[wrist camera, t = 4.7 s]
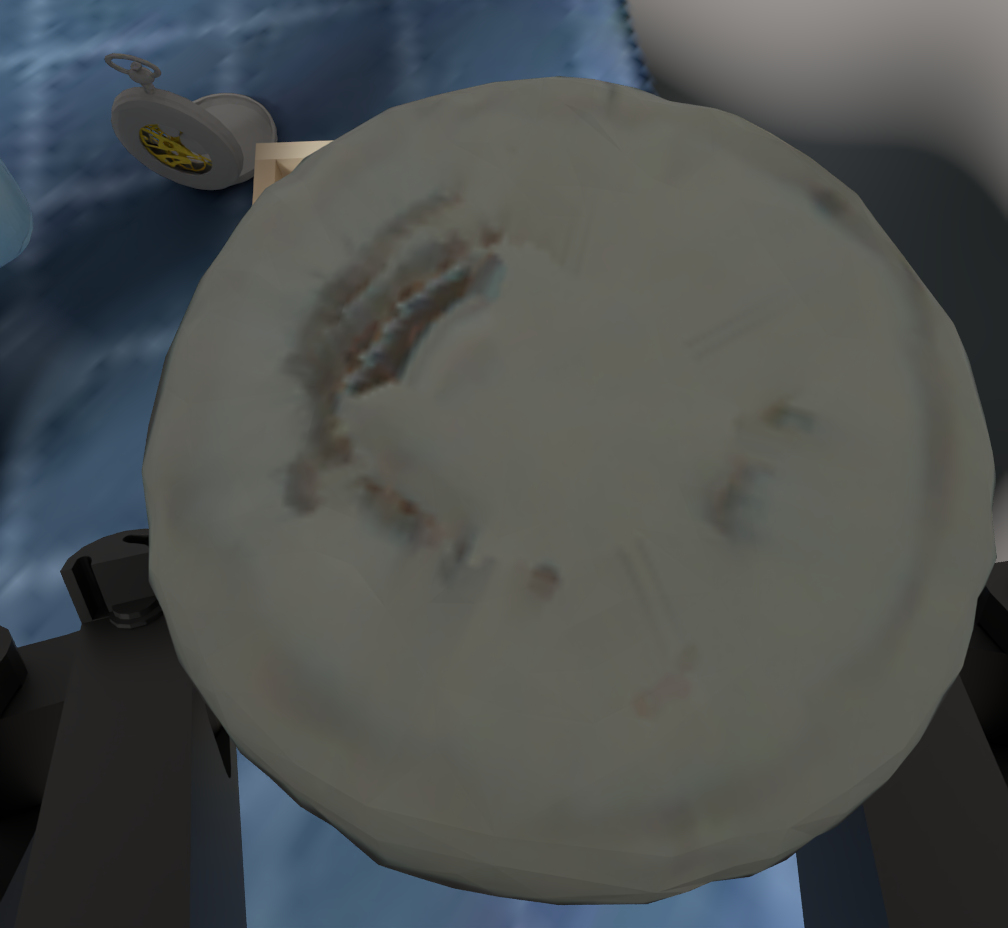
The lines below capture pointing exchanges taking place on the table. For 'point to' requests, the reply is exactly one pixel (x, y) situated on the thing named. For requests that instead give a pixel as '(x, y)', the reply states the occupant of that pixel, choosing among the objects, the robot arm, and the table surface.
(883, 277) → the sauce bottle
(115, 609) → the robot arm
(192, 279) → the table surface
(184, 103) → the pocket watch
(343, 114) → the table surface
